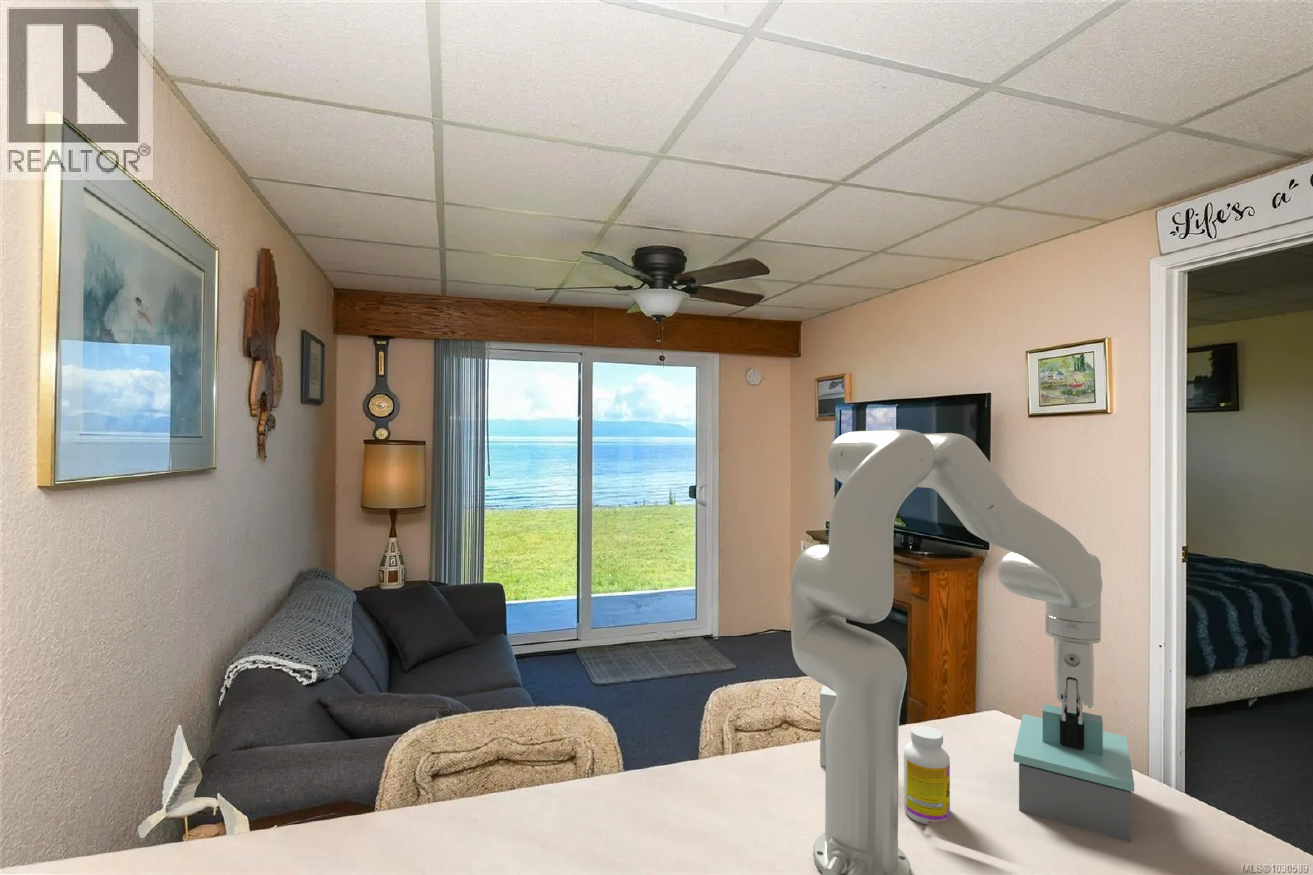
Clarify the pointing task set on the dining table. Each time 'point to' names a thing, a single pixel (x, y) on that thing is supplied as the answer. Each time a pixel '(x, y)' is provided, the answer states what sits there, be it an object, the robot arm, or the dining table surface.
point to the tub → (1075, 802)
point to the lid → (1075, 750)
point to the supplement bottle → (926, 776)
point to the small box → (825, 718)
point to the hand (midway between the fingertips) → (1072, 741)
